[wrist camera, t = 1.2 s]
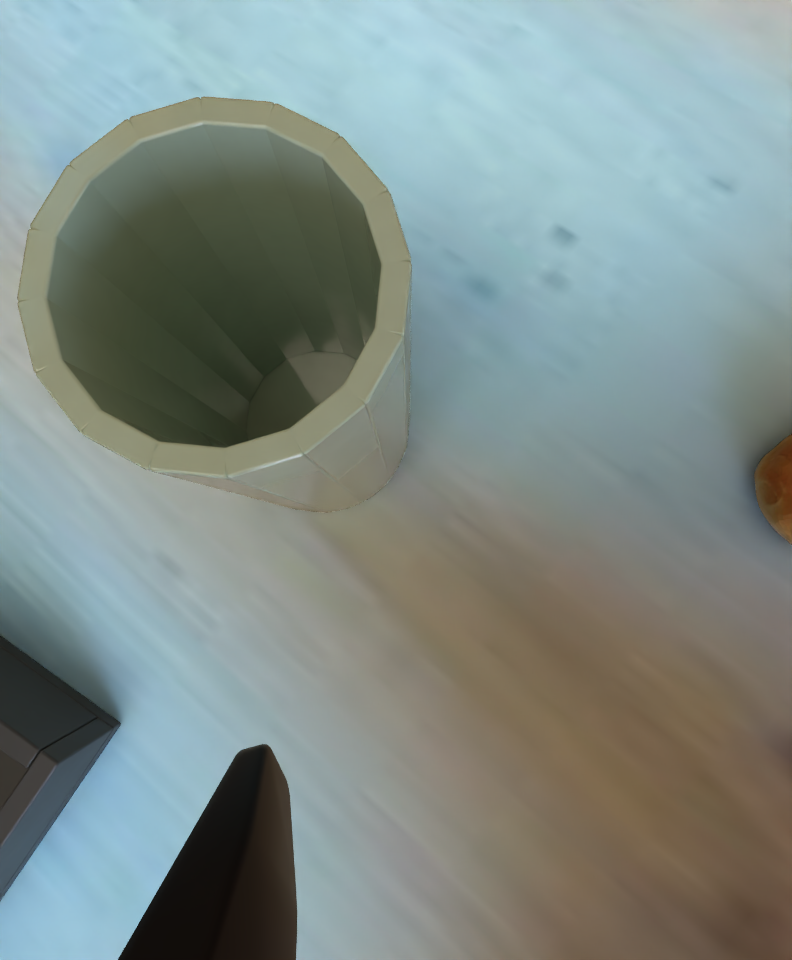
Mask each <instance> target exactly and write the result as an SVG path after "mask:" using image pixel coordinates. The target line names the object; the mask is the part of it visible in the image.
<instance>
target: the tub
mask: <svg viewBox="0 0 792 960" xmlns="http://www.w3.org/2000/svg"><path fill="white" fill-rule="evenodd" d="M120 724H121V723H120V722H119V721H117V720H116V719H114V718H113V717H112V716H110V715H109V714H108V713H106V712H105V711H103V710H102V709H101V708H99V707H98V706H96V705H95V704H94V703H92V702H91V701H90V700H88V699H87V698H85V697H84V696H83V695H81V694H80V693H79V692H77V691H76V690H74V689H73V688H72V687H70V686H69V685H67V684H66V683H65V682H63V681H62V680H61V679H59V678H58V677H56V676H55V675H54V674H52V673H51V672H49V671H48V670H47V669H45V668H44V667H43V666H41V665H40V664H38V663H37V662H36V661H34V660H33V659H32V658H30V657H29V656H27V655H26V654H25V653H23V652H22V651H20V650H19V649H18V648H16V647H15V646H14V645H12V644H11V643H9V642H8V641H7V640H5V639H4V638H2V637H1V636H0V900H1V899H2V898H3V896H4V895H5V893H6V892H7V890H8V889H9V887H10V886H11V884H12V883H13V881H14V880H15V879H16V877H17V876H18V874H19V873H20V871H21V870H22V868H23V867H24V865H25V864H26V862H27V861H28V859H29V858H30V857H31V855H32V854H33V852H34V851H35V849H36V848H37V846H38V845H39V843H40V842H41V840H42V839H43V838H44V836H45V835H46V833H47V832H48V830H49V829H50V827H51V826H52V824H53V823H54V821H55V820H56V819H57V817H58V816H59V814H60V813H61V811H62V810H63V808H64V807H65V805H66V804H67V802H68V801H69V799H70V798H71V797H72V795H73V794H74V792H75V791H76V789H77V788H78V786H79V785H80V783H81V782H82V780H83V779H84V778H85V776H86V775H87V773H88V772H89V770H90V769H91V767H92V766H93V764H94V763H95V761H96V760H97V759H98V757H99V756H100V754H101V753H102V751H103V750H104V748H105V747H106V745H107V744H108V742H109V741H110V739H111V738H112V737H113V735H114V734H115V732H116V731H117V729H118V728H119V726H120Z"/></svg>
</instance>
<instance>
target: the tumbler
mask: <svg viewBox="0 0 792 960" xmlns="http://www.w3.org/2000/svg"><path fill="white" fill-rule="evenodd" d="M30 228H31V229H29V230H28V235H27V241H26V247H25V253H24V259H23V266H22V272H21V278H20V284H19V290H18V296H17V299H18V301H19V302H18V308H19V313H20V317H21V321H22V325H23V329H24V333H25V337H26V341H27V345H28V349H29V353H30V357H31V361H32V365H33V369H34V371H35V373H36V376H37V378H38V379H39V380H40V382H41V383H42V384H43V385H44V387H45V388H46V389H47V391H48V392H49V393H50V395H51V396H52V397H53V398H54V400H55V401H56V402H57V404H58V405H59V406H60V408H61V409H62V410H63V411H64V413H65V414H66V415H67V417H68V418H69V419H70V420H71V422H72V423H73V424H74V426H75V427H76V428H77V430H78V431H79V432H81V433H82V434H83V435H84V436H85V437H87V438H89V439H91V440H92V441H94V442H96V443H98V444H100V445H102V446H103V447H105V448H107V449H109V450H111V451H113V452H114V453H116V454H118V455H120V456H122V457H124V458H125V459H127V460H129V461H131V462H133V463H135V464H136V465H138V466H140V467H142V468H144V469H145V470H149V471H152V472H156V473H159V474H163V475H167V476H171V477H174V478H178V479H182V480H186V481H190V482H193V483H197V484H201V485H205V486H208V487H212V488H216V489H220V490H224V491H227V492H231V493H235V494H239V495H242V496H246V497H250V498H254V499H257V500H261V501H265V502H269V503H273V504H276V505H280V506H284V507H288V508H291V509H295V510H305V511H312V512H325V513H328V512H333V511H339V510H343V509H348V508H350V507H353V506H356V505H358V504H360V503H362V502H364V501H366V500H368V499H369V498H371V497H372V496H373V495H375V494H376V493H377V492H379V491H380V490H381V489H382V488H383V487H384V486H385V485H386V484H387V483H388V482H389V480H390V479H391V478H392V477H393V475H394V473H395V472H396V470H397V469H398V467H399V465H400V463H401V461H402V458H403V456H404V454H405V452H406V448H407V442H408V435H409V422H410V377H411V291H412V264H411V256H410V253H409V250H408V247H407V244H406V241H405V238H404V234H403V231H402V228H401V225H400V222H399V219H398V216H397V212H396V209H395V206H394V203H393V200H392V197H391V194H390V193H389V192H388V189H387V187H386V186H385V185H384V184H383V183H382V182H381V180H380V179H379V178H378V177H377V176H376V175H375V174H374V172H373V171H372V170H371V169H370V168H369V167H368V165H367V164H366V163H365V162H364V161H363V160H362V159H361V157H360V156H359V155H358V154H357V153H356V152H355V151H354V149H353V148H352V147H351V146H350V145H349V144H348V143H347V141H346V140H345V139H344V138H343V137H341V136H340V135H339V134H338V133H336V132H334V131H332V130H330V129H328V128H326V127H324V126H322V125H320V124H318V123H316V122H314V121H312V120H310V119H308V118H306V117H304V116H301V115H299V114H297V113H295V112H293V111H291V110H289V109H287V108H285V107H283V106H281V105H279V104H274V103H272V102H266V101H253V100H241V99H228V98H215V97H201V99H200V98H199V97H196V98H193V99H190V100H186V101H183V102H179V103H176V104H173V105H169V106H166V107H163V108H159V109H156V110H152V111H149V112H146V113H142V114H139V115H136V116H132V117H130V119H129V120H128V119H126V120H124V121H123V122H122V123H120V124H119V125H118V126H116V127H115V128H114V129H113V130H111V131H110V132H109V133H107V134H106V135H105V136H103V137H102V138H101V139H99V140H98V141H97V142H95V143H94V144H93V145H92V146H90V147H89V148H88V149H86V150H85V151H84V152H82V153H81V154H80V155H78V156H77V157H76V158H74V159H73V160H72V161H71V162H70V165H67V166H66V168H65V169H64V171H63V172H62V174H61V176H60V177H59V179H58V181H57V182H56V184H55V185H54V187H53V189H52V190H51V192H50V194H49V195H48V197H47V199H46V200H45V202H44V203H43V205H42V207H41V208H40V210H39V212H38V213H37V215H36V217H35V218H34V220H33V221H32V223H31V225H30Z"/></svg>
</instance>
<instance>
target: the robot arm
mask: <svg viewBox="0 0 792 960" xmlns="http://www.w3.org/2000/svg"><path fill="white" fill-rule="evenodd" d="M296 943H297V900H296V882H295V867H294V852H293V837H292V821H291V806H290V794H289V788H288V784H287V780H286V778H285V776H284V774H283V772H282V770H281V768H280V766H279V764H278V761H277V759H276V757H275V755H274V753H273V751H272V749H271V748H270V747H269V746H268V745H266V744H262V745H258V746H254V747H250V748H247V749H243V750H241V751H240V752H239V753H238V754H237V755H236V756H235V758H234V759H233V761H232V763H231V765H230V766H229V768H228V770H227V772H226V773H225V775H224V777H223V778H222V780H221V782H220V784H219V785H218V787H217V789H216V791H215V792H214V794H213V796H212V798H211V799H210V801H209V803H208V804H207V806H206V808H205V810H204V811H203V813H202V815H201V817H200V818H199V820H198V822H197V824H196V825H195V827H194V829H193V830H192V832H191V834H190V836H189V837H188V839H187V841H186V843H185V844H184V846H183V848H182V850H181V851H180V853H179V855H178V856H177V858H176V860H175V862H174V863H173V865H172V867H171V869H170V870H169V872H168V874H167V876H166V877H165V879H164V881H163V882H162V884H161V886H160V888H159V889H158V891H157V893H156V895H155V896H154V898H153V900H152V902H151V903H150V905H149V907H148V908H147V910H146V912H145V914H144V915H143V917H142V919H141V921H140V922H139V924H138V926H137V928H136V929H135V931H134V933H133V934H132V936H131V938H130V940H129V941H128V943H127V945H126V947H125V948H124V950H123V952H122V954H121V955H120V957H119V959H118V960H296Z"/></svg>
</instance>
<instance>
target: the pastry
mask: <svg viewBox="0 0 792 960" xmlns="http://www.w3.org/2000/svg"><path fill="white" fill-rule="evenodd" d="M754 479H755V487H756V497H757V501H758V505H759V507H760V509H761V511H762V513H763V515H764V516H765V518H766V519H767V521H768V522H769V523H770V525H771V526H772V527H773V528H774V529H775V530H776V532H777V533H778V534H779V535H781V536H782V537H783V538H784V539H786V540H787V541H788V542H789V543H790V544H791V545H792V434H791V435H789V436H788V437H786V438H785V439H784V440H782V441H781V442H780V443H779V444H778V445H777V446H776V447H775V448H773V449H772V450H771V451H770V452H769V453H767V454H766V455H765V456H764V457H763V458H762V459H761V461H760V462H759V464H758V466H757V468H756V470H755V473H754Z"/></svg>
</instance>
